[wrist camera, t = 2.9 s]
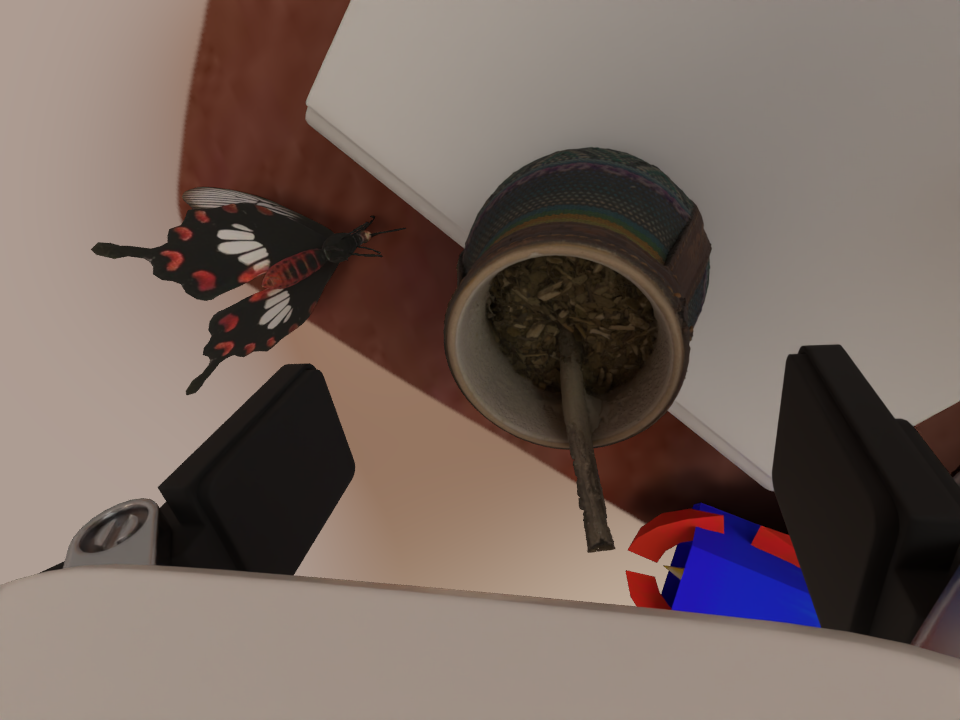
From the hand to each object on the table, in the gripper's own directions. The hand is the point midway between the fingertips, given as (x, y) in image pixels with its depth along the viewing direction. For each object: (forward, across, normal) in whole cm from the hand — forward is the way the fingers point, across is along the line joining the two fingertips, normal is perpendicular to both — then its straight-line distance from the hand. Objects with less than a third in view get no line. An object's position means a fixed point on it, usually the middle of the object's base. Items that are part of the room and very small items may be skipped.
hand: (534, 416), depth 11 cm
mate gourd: (+10, -1, 0) cm, 10 cm away
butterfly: (+6, +10, -1) cm, 12 cm away
